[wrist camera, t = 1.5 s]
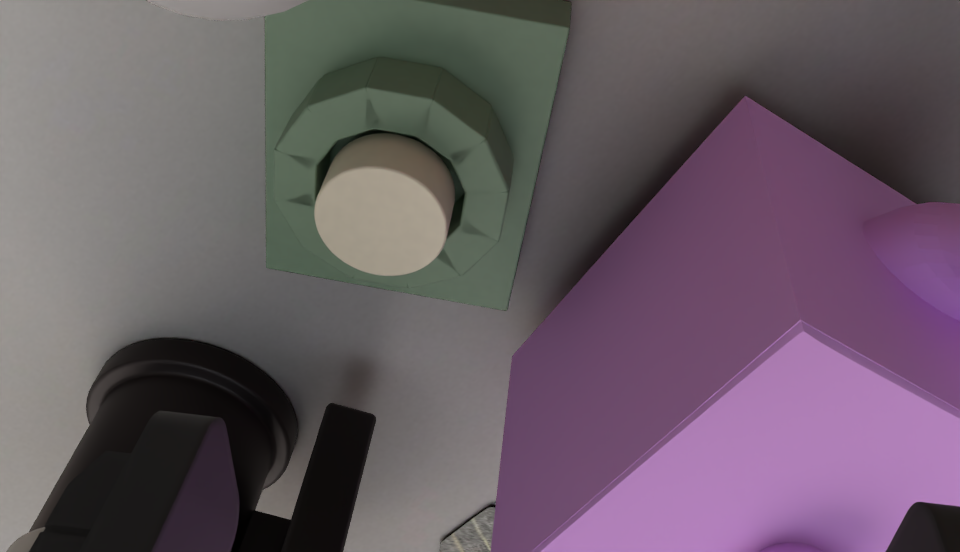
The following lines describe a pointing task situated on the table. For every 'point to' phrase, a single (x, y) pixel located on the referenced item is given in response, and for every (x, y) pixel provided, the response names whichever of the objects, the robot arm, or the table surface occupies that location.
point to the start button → (385, 205)
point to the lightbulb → (227, 8)
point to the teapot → (744, 365)
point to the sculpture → (472, 535)
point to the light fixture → (252, 437)
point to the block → (414, 124)
